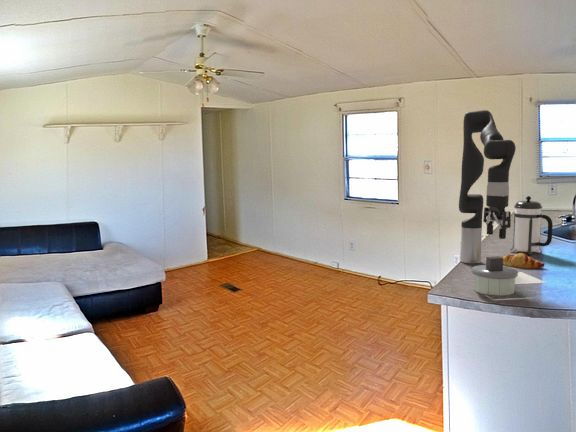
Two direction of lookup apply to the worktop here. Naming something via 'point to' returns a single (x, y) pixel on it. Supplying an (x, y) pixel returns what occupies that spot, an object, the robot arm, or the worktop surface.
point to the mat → (526, 279)
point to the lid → (494, 269)
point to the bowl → (494, 286)
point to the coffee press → (529, 226)
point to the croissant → (521, 261)
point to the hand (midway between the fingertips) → (495, 236)
